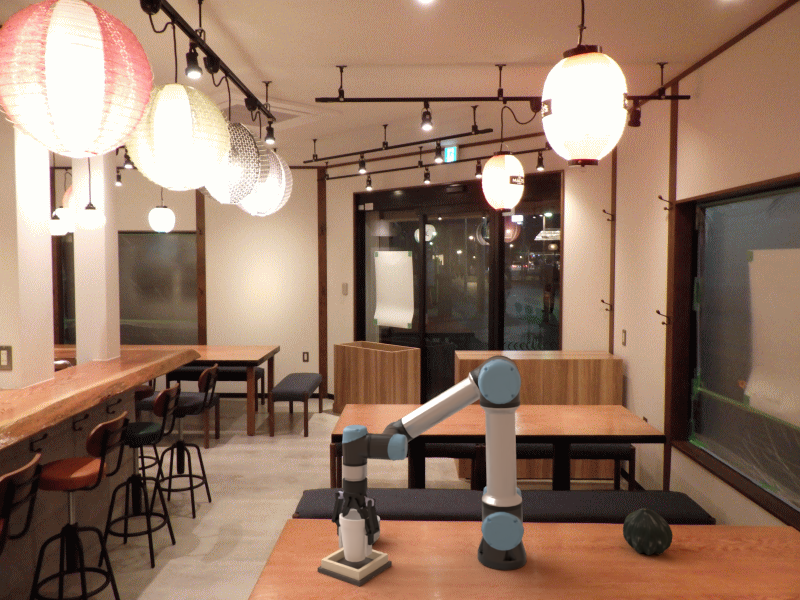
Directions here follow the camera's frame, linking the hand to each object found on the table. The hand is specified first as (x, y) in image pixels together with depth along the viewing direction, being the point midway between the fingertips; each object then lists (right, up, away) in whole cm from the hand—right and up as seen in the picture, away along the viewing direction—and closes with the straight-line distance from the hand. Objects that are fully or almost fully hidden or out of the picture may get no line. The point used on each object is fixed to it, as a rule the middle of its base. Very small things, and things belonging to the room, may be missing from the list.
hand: (355, 550), depth 189 cm
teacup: (+2, -5, +21) cm, 21 cm away
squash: (+94, -5, +13) cm, 95 cm away
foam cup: (0, -2, 0) cm, 2 cm away
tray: (0, -6, 0) cm, 6 cm away
